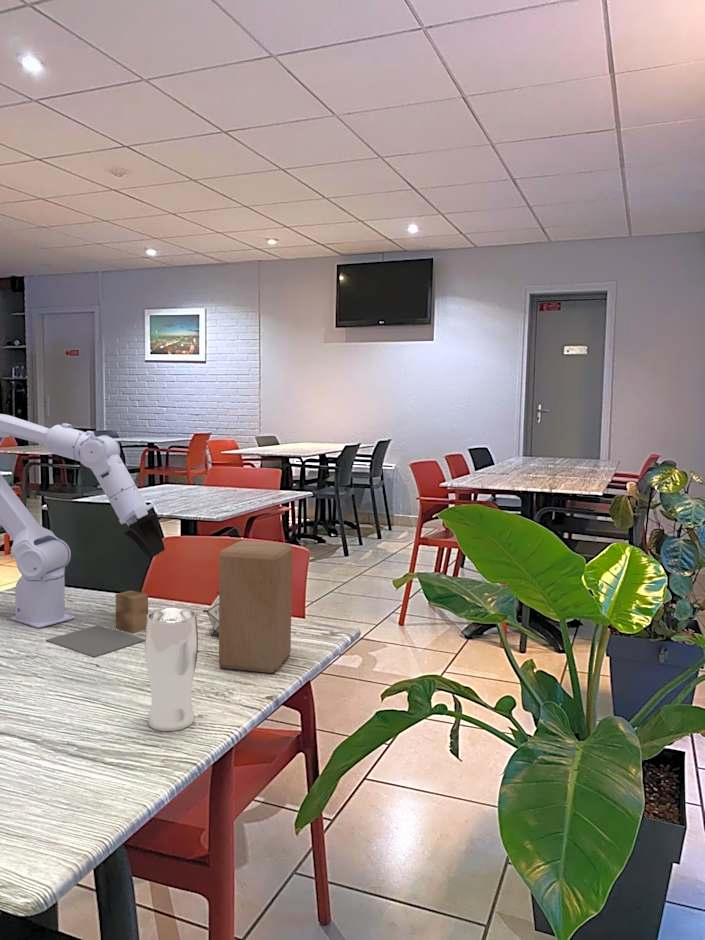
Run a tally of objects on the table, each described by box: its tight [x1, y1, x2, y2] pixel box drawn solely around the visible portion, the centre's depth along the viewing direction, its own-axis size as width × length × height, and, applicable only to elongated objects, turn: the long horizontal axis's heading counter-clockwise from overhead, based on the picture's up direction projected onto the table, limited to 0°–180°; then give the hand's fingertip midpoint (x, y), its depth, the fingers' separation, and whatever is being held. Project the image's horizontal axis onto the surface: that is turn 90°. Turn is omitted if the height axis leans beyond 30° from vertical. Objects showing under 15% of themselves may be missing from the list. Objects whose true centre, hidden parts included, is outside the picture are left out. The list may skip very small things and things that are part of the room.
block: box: [218, 539, 293, 674], centre depth 118 cm, size 10×10×20 cm
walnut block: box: [115, 589, 149, 636], centre depth 134 cm, size 5×4×7 cm
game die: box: [202, 589, 219, 636], centre depth 133 cm, size 9×8×10 cm
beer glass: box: [144, 607, 199, 732], centre depth 95 cm, size 7×7×15 cm
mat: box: [45, 624, 145, 658], centre depth 128 cm, size 14×11×1 cm
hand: (157, 554), depth 135 cm, fingers open, 7 cm apart
